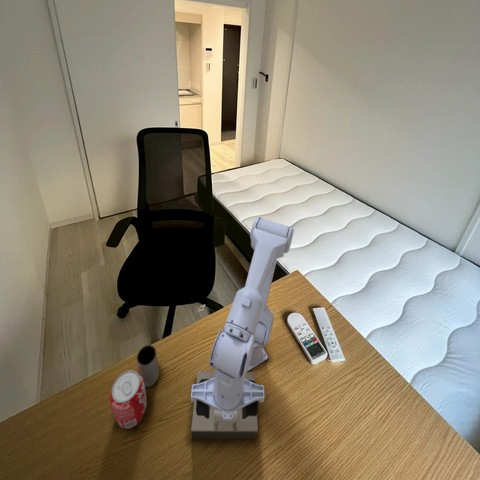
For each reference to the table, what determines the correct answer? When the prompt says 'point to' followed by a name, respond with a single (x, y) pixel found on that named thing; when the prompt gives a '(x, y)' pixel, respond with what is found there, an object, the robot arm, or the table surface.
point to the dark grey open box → (223, 435)
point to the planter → (148, 365)
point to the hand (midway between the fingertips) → (225, 412)
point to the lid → (215, 416)
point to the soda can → (128, 399)
